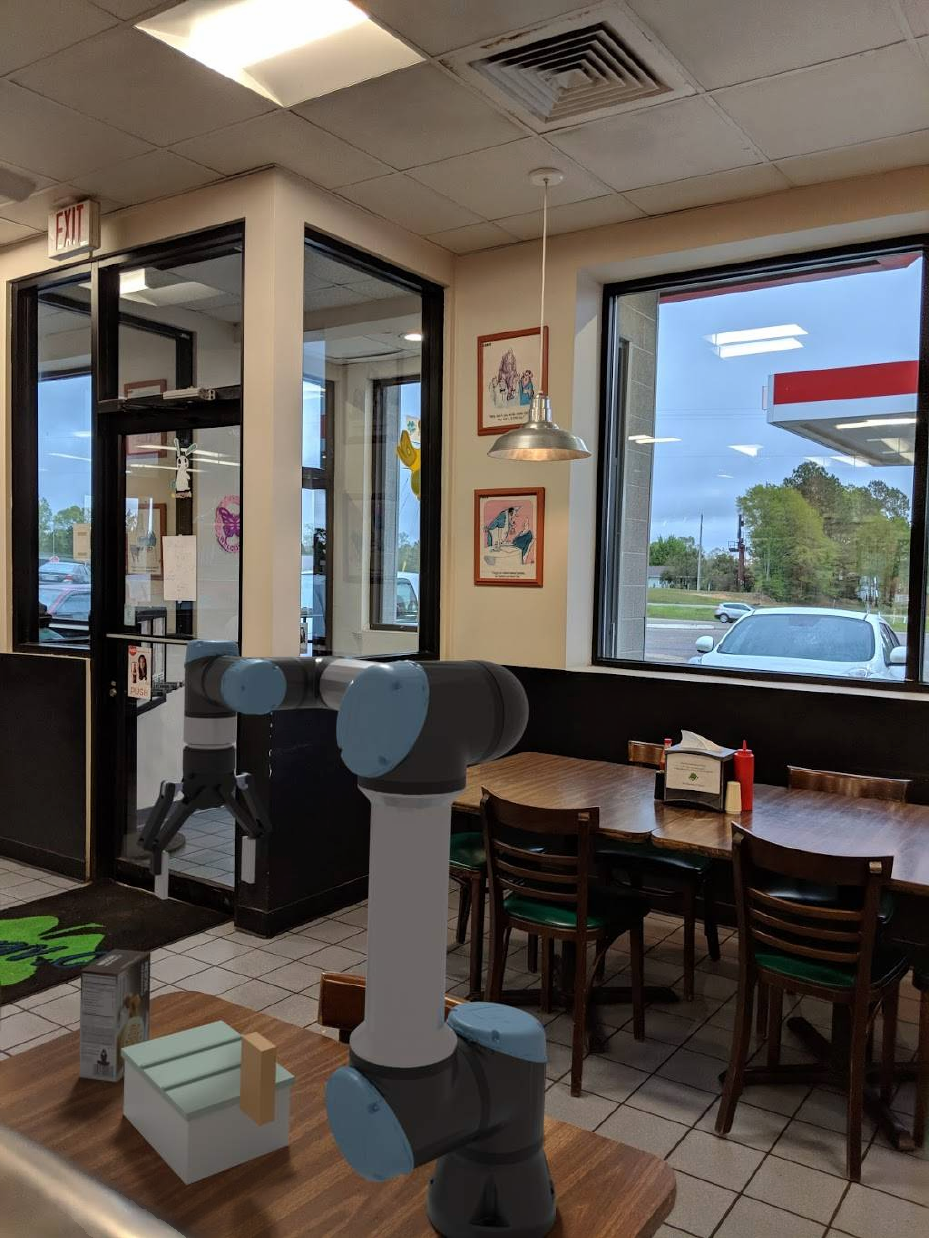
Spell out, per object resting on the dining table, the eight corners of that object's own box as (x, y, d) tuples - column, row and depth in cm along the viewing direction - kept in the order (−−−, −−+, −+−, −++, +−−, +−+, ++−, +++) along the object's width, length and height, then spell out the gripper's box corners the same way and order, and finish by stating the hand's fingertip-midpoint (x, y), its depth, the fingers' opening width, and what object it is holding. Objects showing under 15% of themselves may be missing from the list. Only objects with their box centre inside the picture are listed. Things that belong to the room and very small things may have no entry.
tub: (288, 1144, 124) (290, 1083, 124) (186, 1184, 115) (188, 1119, 115) (218, 1083, 139) (220, 1028, 139) (123, 1114, 130) (124, 1055, 130)
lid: (319, 1113, 119) (321, 1032, 119) (209, 1154, 110) (211, 1066, 110) (221, 1035, 140) (223, 965, 140) (120, 1064, 130) (122, 990, 130)
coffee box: (112, 1049, 149) (114, 947, 148) (149, 1054, 147) (152, 951, 147) (77, 1077, 140) (79, 968, 139) (116, 1083, 138) (119, 973, 138)
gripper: (272, 735, 151) (268, 869, 151) (115, 747, 135) (111, 897, 135) (297, 741, 145) (293, 880, 146) (136, 754, 129) (132, 911, 129)
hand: (205, 888), depth 140 cm, fingers open, 13 cm apart
